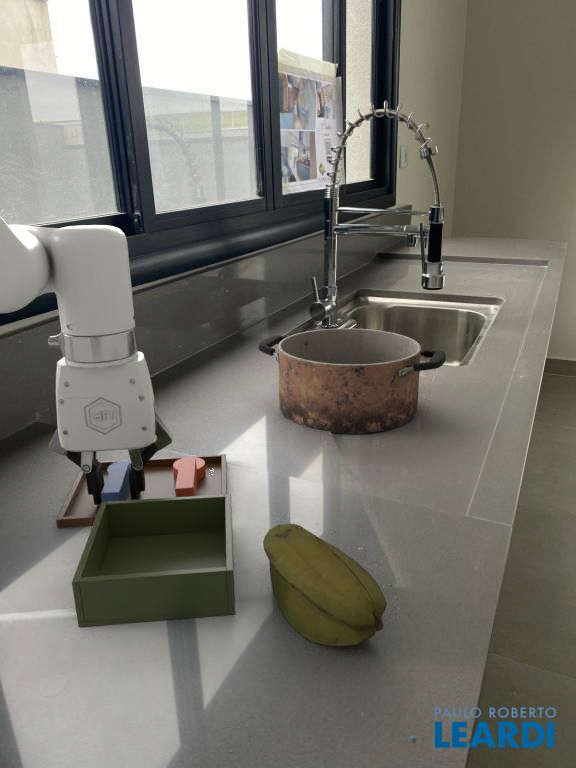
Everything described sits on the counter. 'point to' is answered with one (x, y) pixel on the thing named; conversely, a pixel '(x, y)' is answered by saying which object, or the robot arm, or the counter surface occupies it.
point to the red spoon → (188, 475)
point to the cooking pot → (349, 378)
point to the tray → (157, 485)
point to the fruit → (322, 588)
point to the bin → (157, 561)
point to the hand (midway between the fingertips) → (118, 496)
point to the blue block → (117, 482)
